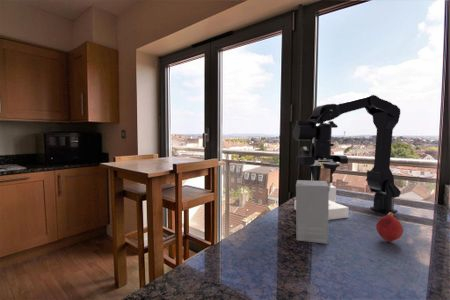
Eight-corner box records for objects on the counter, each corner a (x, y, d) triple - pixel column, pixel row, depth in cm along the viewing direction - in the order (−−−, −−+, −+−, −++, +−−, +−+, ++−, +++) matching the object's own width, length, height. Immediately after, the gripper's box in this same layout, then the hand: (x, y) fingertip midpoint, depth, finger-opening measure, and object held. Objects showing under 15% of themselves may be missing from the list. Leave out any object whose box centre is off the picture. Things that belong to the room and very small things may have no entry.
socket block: (322, 206, 94) (322, 197, 94) (348, 217, 82) (348, 207, 82) (294, 209, 91) (294, 200, 90) (316, 221, 78) (317, 210, 78)
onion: (394, 248, 59) (395, 217, 59) (371, 239, 64) (372, 211, 64) (406, 244, 62) (408, 214, 62) (383, 235, 67) (384, 208, 67)
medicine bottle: (329, 199, 105) (330, 173, 104) (335, 204, 97) (336, 175, 97) (313, 199, 105) (314, 172, 104) (317, 203, 98) (318, 175, 97)
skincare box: (326, 235, 67) (328, 180, 66) (328, 246, 60) (330, 185, 59) (295, 231, 70) (296, 178, 69) (294, 241, 63) (295, 182, 62)
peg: (321, 188, 88) (322, 167, 88) (329, 191, 84) (330, 169, 84) (312, 189, 87) (313, 167, 87) (320, 191, 83) (320, 169, 83)
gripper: (327, 139, 95) (326, 178, 96) (287, 139, 89) (286, 180, 90) (350, 140, 84) (348, 183, 85) (305, 140, 79) (304, 186, 80)
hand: (321, 183), depth 86 cm, fingers closed on peg, 4 cm apart
